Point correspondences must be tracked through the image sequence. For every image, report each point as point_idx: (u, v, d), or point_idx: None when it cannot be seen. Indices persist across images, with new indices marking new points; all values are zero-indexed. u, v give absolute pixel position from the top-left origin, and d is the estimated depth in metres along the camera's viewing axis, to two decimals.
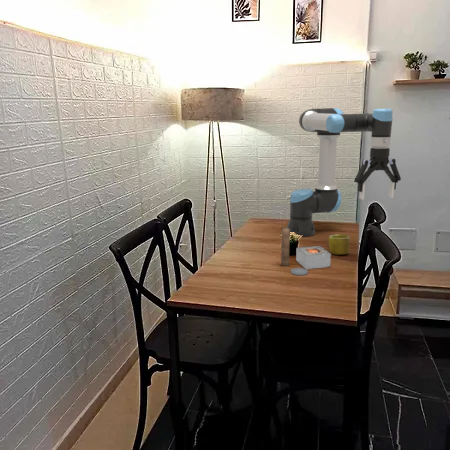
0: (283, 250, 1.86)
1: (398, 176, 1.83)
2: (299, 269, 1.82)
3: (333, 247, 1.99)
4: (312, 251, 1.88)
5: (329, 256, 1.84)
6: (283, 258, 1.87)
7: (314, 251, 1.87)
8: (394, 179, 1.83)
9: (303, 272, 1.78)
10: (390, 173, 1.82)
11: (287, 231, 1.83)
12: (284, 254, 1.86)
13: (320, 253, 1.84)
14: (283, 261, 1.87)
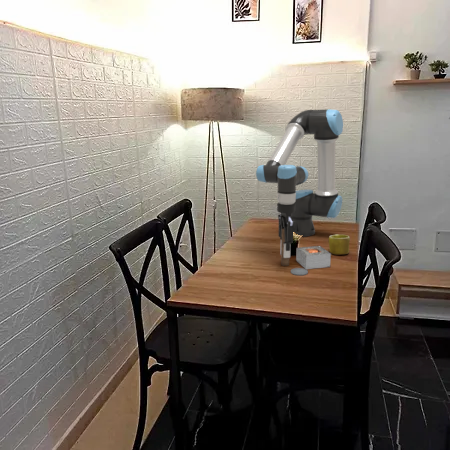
0: (283, 250, 1.86)
1: (286, 238, 1.81)
2: (299, 269, 1.82)
3: (333, 247, 1.99)
4: (312, 251, 1.88)
5: (329, 256, 1.84)
6: (283, 258, 1.87)
7: (314, 251, 1.87)
8: (285, 240, 1.83)
9: (303, 272, 1.78)
10: (284, 232, 1.83)
11: None
12: None
13: (320, 253, 1.84)
14: (283, 261, 1.87)
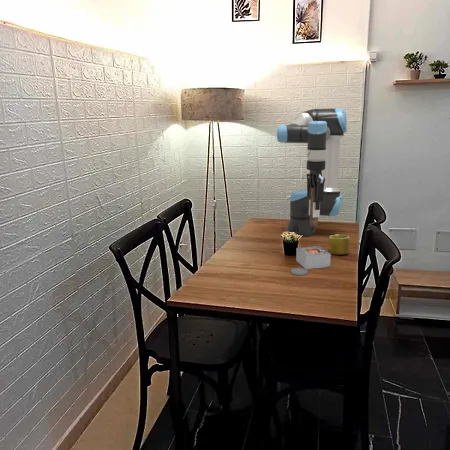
0: (312, 209, 1.82)
1: (316, 196, 1.77)
2: (299, 269, 1.82)
3: (333, 247, 1.99)
4: (312, 251, 1.88)
5: (329, 256, 1.84)
6: (311, 217, 1.83)
7: (314, 251, 1.87)
8: (314, 198, 1.79)
9: (303, 272, 1.78)
10: (314, 190, 1.79)
11: None
12: None
13: (320, 253, 1.84)
14: (312, 221, 1.83)
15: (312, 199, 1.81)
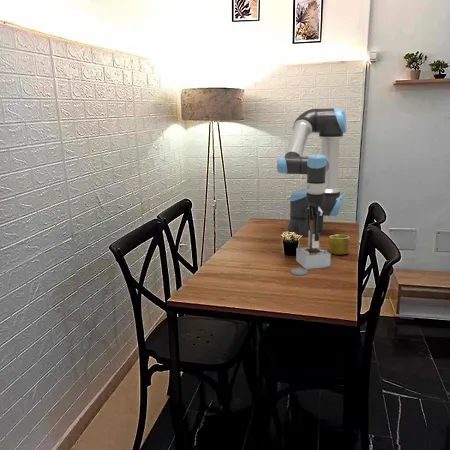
0: None
1: (316, 228, 1.80)
2: (299, 269, 1.82)
3: (333, 247, 1.99)
4: None
5: (329, 256, 1.84)
6: (311, 249, 1.86)
7: None
8: (314, 230, 1.83)
9: (303, 272, 1.78)
10: (314, 222, 1.82)
11: None
12: None
13: (320, 253, 1.84)
14: (311, 252, 1.87)
15: (311, 231, 1.84)
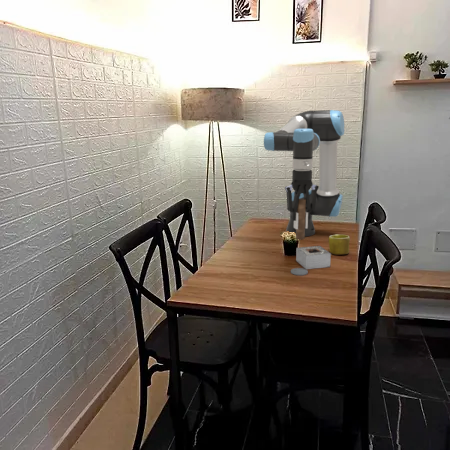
0: (304, 222, 1.73)
1: (313, 205, 1.72)
2: (299, 269, 1.82)
3: (333, 247, 1.99)
4: None
5: (329, 256, 1.84)
6: (304, 230, 1.74)
7: None
8: (308, 208, 1.72)
9: (303, 272, 1.78)
10: (307, 200, 1.71)
11: None
12: (304, 226, 1.74)
13: (320, 253, 1.84)
14: (304, 234, 1.75)
15: (304, 211, 1.72)
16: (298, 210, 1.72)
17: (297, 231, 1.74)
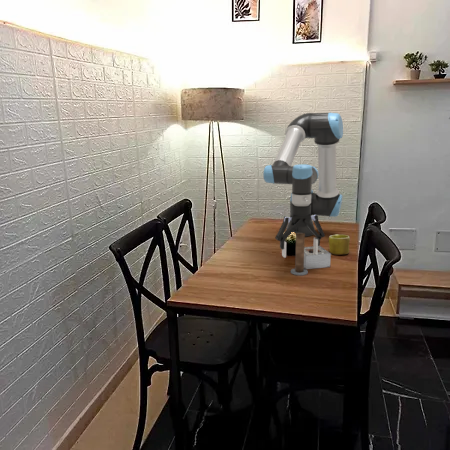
0: (303, 255, 1.77)
1: (322, 232, 1.76)
2: None
3: (333, 247, 1.99)
4: None
5: (329, 256, 1.84)
6: (303, 263, 1.78)
7: None
8: (317, 236, 1.76)
9: (303, 272, 1.78)
10: (313, 230, 1.75)
11: None
12: (303, 259, 1.78)
13: (320, 253, 1.84)
14: (303, 267, 1.78)
15: (303, 245, 1.76)
16: (297, 244, 1.76)
17: (296, 264, 1.78)
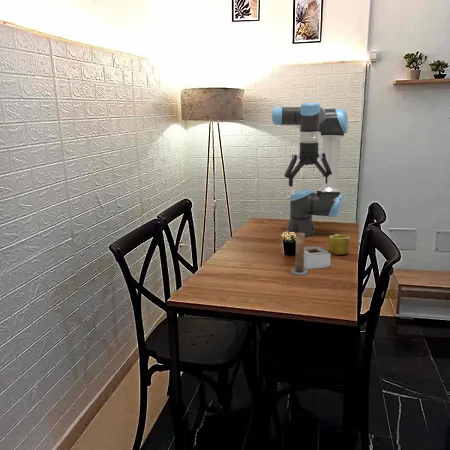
0: (303, 255, 1.77)
1: (329, 170, 1.82)
2: None
3: (333, 247, 1.99)
4: None
5: (329, 256, 1.84)
6: (303, 263, 1.78)
7: None
8: (325, 173, 1.82)
9: (303, 272, 1.78)
10: (320, 167, 1.81)
11: None
12: (303, 259, 1.78)
13: (320, 253, 1.84)
14: (303, 267, 1.78)
15: (303, 245, 1.76)
16: (297, 244, 1.76)
17: (296, 264, 1.78)
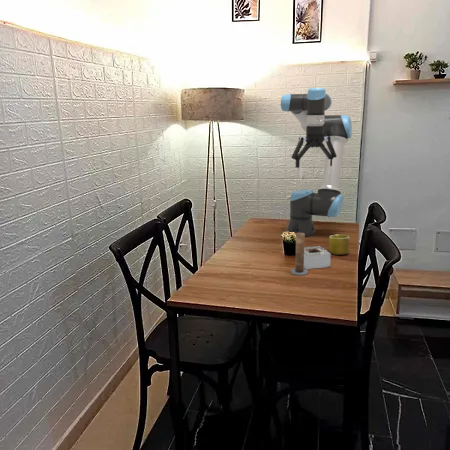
0: (303, 255, 1.77)
1: (334, 153, 1.93)
2: None
3: (333, 247, 1.99)
4: None
5: (329, 256, 1.84)
6: (303, 263, 1.78)
7: None
8: (330, 156, 1.92)
9: (303, 272, 1.78)
10: (326, 150, 1.91)
11: None
12: (303, 259, 1.78)
13: (320, 253, 1.84)
14: (303, 267, 1.78)
15: (303, 245, 1.76)
16: (297, 244, 1.76)
17: (296, 264, 1.78)
